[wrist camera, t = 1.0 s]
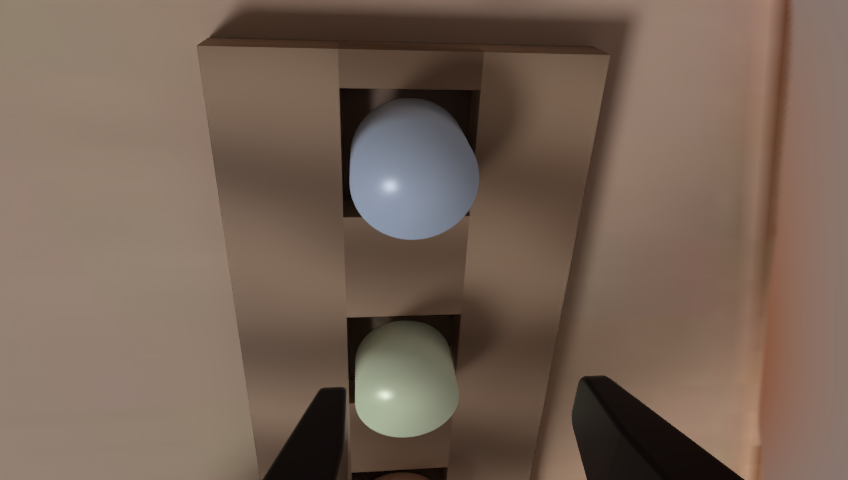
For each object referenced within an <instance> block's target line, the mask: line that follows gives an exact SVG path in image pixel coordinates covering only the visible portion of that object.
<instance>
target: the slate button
mask: <svg viewBox="0 0 848 480" xmlns="http://www.w3.org/2000/svg"><path fill="white" fill-rule="evenodd" d="M349 184H350V192H351V196H352V200H353V202H354V205H355V207H356V208H357V210H358V212H359V213H360V215H361V216H362V217H363V219H364V220H365V221H366V222H367V223H368V224H370V225H371V226H372V227H373V228H375V229H376V230H378V231H380V232H382V233H384V234H386V235H388V236H391V237H395V238H399V239H406V240H417V239H425V238H430V237H433V236H436V235H439V234H441V233H443V232H445V231H447V230H448V229H450V228H452V227H453V226H454V225H456V224H457V223H458V222H459V221H460V220H461V219H462V218H463V217H464V216H465V215H466V213H467V212H468V211H469V209H470V208H471V206H472V204H473V202H474V200H475V198H476V194H477V191H478V186H479V168H478V164H477V160H476V157H475V155H474V152H473V150H472V149H471V147H470V145H469V143H468V141H467V139H466V137H465V135H464V134H463V132H462V130H461V128H460V126H459V125H458V123H457V121H456V120H455V119H454V118H453V116H452V115H451V114H450V113H449V112H448V111H446V110H445V109H444V108H442V107H441V106H439V105H437V104H435V103H433V102H430V101H428V100H424V99H419V98H400V99H395V100H392V101H388V102H386V103H384V104H382V105H380V106H378V107H377V108H375V109H373V110H372V111H371V112H370V113H369V114H368V115H367V116H366V117H365V118H364V119H363V120H362V121H361V123H360V124H359V126H358V127H357V129H356V131H355V133H354V136H353V139H352V143H351V151H350V180H349Z"/></svg>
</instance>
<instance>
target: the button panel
mask: <svg viewBox="0 0 848 480" xmlns="http://www.w3.org/2000/svg"><path fill="white" fill-rule="evenodd" d="M197 51H198V58H199V65H200V72H201V79H202V85H203V92H204V99H205V106H206V113H207V119H208V126H209V133H210V140H211V147H212V154H213V160H214V167H215V174H216V181H217V188H218V195H219V201H220V208H221V215H222V222H223V229H224V235H225V242H226V249H227V256H228V263H229V270H230V276H231V283H232V290H233V297H234V304H235V311H236V317H237V324H238V331H239V338H240V345H241V351H242V358H243V365H244V372H245V379H246V386H247V392H248V399H249V406H250V413H251V420H252V427H253V433H254V440H255V447H256V454H257V461H258V468H259V474H260V480H262V479H263V477H264V476H265V474H266V473H267V471H268V469H269V468H270V466H271V465H272V463H273V462H274V460H275V458H276V457H277V455H278V454H279V452H280V451H281V449H282V447H283V446H284V444H285V443H286V441H287V439H288V438H289V436H290V435H291V433H292V432H293V430H294V428H295V427H296V425H297V424H298V422H299V421H300V419H301V417H302V416H303V414H304V413H305V411H306V410H307V408H308V406H309V405H310V403H311V402H312V400H313V398H314V397H315V395H316V394H317V392H318V391H319V390H320V389H321V388H324V387H344V388H345V389H346V391H347V413H348V480H353V473H356V472H373V471H389V470H406V469H423V468H439V467H442V470H441V480H530V474H531V469H532V464H533V459H534V454H535V448H536V443H537V438H538V433H539V427H540V422H541V417H542V412H543V406H544V401H545V396H546V391H547V385H548V380H549V375H550V370H551V364H552V359H553V354H554V349H555V343H556V338H557V333H558V328H559V322H560V317H561V312H562V307H563V301H564V296H565V291H566V286H567V280H568V275H569V270H570V265H571V259H572V254H573V249H574V244H575V238H576V233H577V228H578V223H579V218H580V212H581V207H582V202H583V197H584V191H585V186H586V181H587V176H588V170H589V165H590V160H591V155H592V149H593V144H594V139H595V134H596V128H597V123H598V118H599V113H600V107H601V102H602V97H603V92H604V86H605V81H606V76H607V71H608V65H609V60H610V55H609V54H607V53H605V52H603V51H601V50H599V49H597V48H595V47H573V46H531V45H490V44H448V43H407V42H365V41H324V40H282V39H241V38H207V39H206V40H204V41H203V42H201V43H200V44H198V45H197ZM341 88H368V89H435V90H472V93H471V106H470V118H469V131H468V143H469V145H470V147H471V149H472V150H473V152H474V155H475V157H476V160H477V164H478V168H479V186H478V191H477V194H476V198H475V200H474V202H473V204H472V206H471V208H470V209H469V211H468V212H467V213H466V215H465V216H464V217H463V218H462V219H461V220H460V221H459V222H458V223H457V224H456V225H454V226H453V227H452V228H450V229H448V230H447V231H445V232H443V233H441V234H439V235H436V236H433V237H430V238H425V239H417V240H406V239H399V238H395V237H391V236H388V235H386V234H384V233H382V232H380V231H378V230H376V229H375V228H373V227H372V226H371V225H370V224H368V223H367V222H366V221H365V220H364V219H363V217H362V216H361V215H360V213H359V212H358V210H357V208H356V207H355V205H354V202H353V200H344V180H343V147H342V115H341ZM448 314H454V319H453V332H452V345H451V358H452V362H453V367H454V371H455V376H456V380H457V385H458V390H459V401H458V405H457V407H456V409H455V411H454V413H453V414H452V416H451V417H450V418H449V419H448V420H447V421H446V422H445V423H444V424H443V425H441V426H440V427H438V428H437V429H435V430H433V431H431V432H428V433H426V434H423V435H419V436H414V437H391V436H386V435H383V434H380V433H378V432H376V431H374V430H372V429H370V428H369V427H368V426H366V425H365V424H364V423H363V422H362V420H361V419H360V417H359V416H358V414H357V411H356V407H355V380H350V375H349V342H348V317H380V316H414V315H448Z"/></svg>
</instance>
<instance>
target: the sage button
mask: <svg viewBox="0 0 848 480" xmlns="http://www.w3.org/2000/svg"><path fill="white" fill-rule="evenodd" d="M458 401H459V390H458V385H457V380H456V376H455V371H454V367H453V362H452V358H451V353H450V349H449V346H448V343H447V341H446V339H445V338H444V336H443V335H442V334H441V333H440V332H439V331H438V330H436V329H435V328H433V327H431V326H430V325H427V324H425V323H422V322H418V321H410V320H403V321H395V322H390V323H387V324H384V325H382V326H379V327H378V328H376V329H374V330H373V331H371V332H370V333H369V334H368V335H367V336H366V337H365V338H364V339H363V340H362V341H361V343H360V345H359V346H358V349H357V352H356V356H355V407H356V411H357V414H358V416H359V417H360V419H361V420H362V422H363V423H364V424H365V425H366V426H368V427H369V428H370V429H372V430H374V431H376V432H378V433H380V434H383V435H386V436H391V437H414V436H419V435H423V434H426V433H428V432H431V431H433V430H435V429H437V428H438V427H440V426H441V425H443V424H444V423H445V422H446V421H447V420H448V419H449V418H450V417H451V416H452V414H453V413H454V411H455V409H456V407H457V405H458Z"/></svg>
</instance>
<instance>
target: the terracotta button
mask: <svg viewBox="0 0 848 480" xmlns="http://www.w3.org/2000/svg"><path fill="white" fill-rule="evenodd" d="M375 480H429V479H428V478H426V477H424V476H422V475H419V474H415V473H408V472H399V473H392V474H387V475H384V476H381V477H379V478H377V479H375Z"/></svg>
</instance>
